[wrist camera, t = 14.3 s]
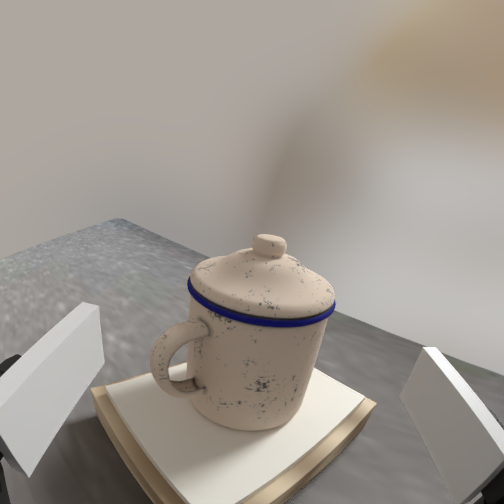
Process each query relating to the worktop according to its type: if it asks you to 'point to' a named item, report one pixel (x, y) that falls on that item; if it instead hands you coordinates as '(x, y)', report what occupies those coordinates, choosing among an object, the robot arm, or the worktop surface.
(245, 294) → the teacup with lid
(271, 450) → the oak tea stand
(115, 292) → the worktop surface
